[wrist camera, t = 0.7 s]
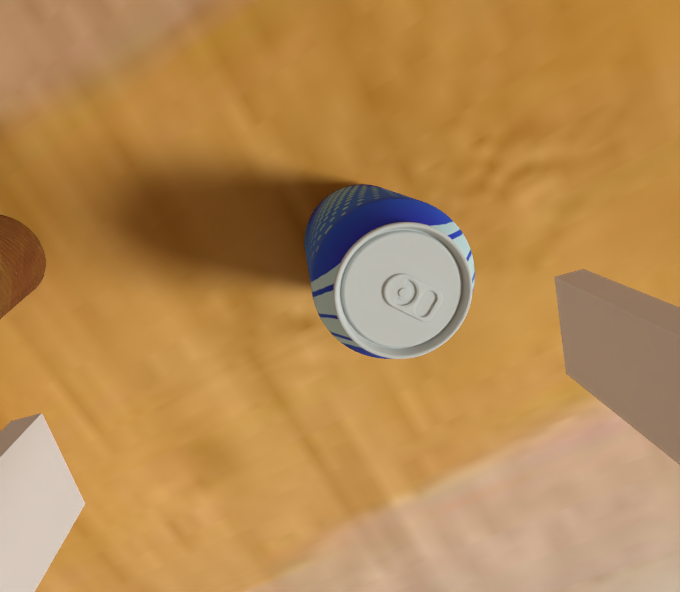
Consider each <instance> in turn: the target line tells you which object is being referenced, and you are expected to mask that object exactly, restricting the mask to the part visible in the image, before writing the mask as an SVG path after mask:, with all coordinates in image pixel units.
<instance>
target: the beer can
mask: <svg viewBox="0 0 680 592" xmlns="http://www.w3.org/2000/svg"><path fill="white" fill-rule="evenodd" d="M305 252H306V258H307V264H308V270H309V276H310V283H311V289H312V295H313V300H314V303H315V307H316V309H317V312H318V314H319V316H320V318H321V320H322V321H323V323H324V324H325V326H326V328H327V329H328V330H329V331H330V332H331V334H332V335H333V336H334V337H335V338H336V339H338V340H339V341H340V342H341V343H342V344H344V345H345V346H347V347H348V348H350V349H352V350H354V351H356V352H359V353H361V354H364V355H367V356H371V357H376V358H384V359H406V358H413V357H417V356H421V355H424V354H426V353H429V352H431V351H433V350H435V349H436V348H438V347H440V346H441V345H442V344H444V343H445V342H446V341H447V340H449V339H450V338H451V337H452V336H453V335H454V334H455V332H456V331H457V330H458V329H459V327H460V326H461V324H462V323H463V321H464V319H465V317H466V315H467V312H468V310H469V307H470V303H471V299H472V293H473V288H474V277H475V271H474V262H473V256H472V253H471V249H470V247H469V244H468V242H467V240H466V238H465V236H464V234H463V233H462V231H461V230H460V228H459V227H458V226H457V225H456V224H455V223H454V222H453V221H452V220H451V219H450V218H449V217H448V216H447V215H446V214H444V213H443V212H442V211H440V210H439V209H437V208H436V207H434V206H432V205H430V204H428V203H425V202H422V201H419V200H416V199H413V198H410V197H407V196H404V195H401V194H398V193H395V192H392V191H389V190H387V189H384V188H381V187H377V186H373V185H364V184H361V185H352V186H347V187H344V188H341V189H339V190H337V191H335V192H333V193H332V194H330V195H329V196H327V197H326V198H325V199H324V200H323V201H322V202H321V203H320V204H319V205H318V206H317V207H316V209H315V210H314V212H313V213H312V215H311V217H310V219H309V222H308V225H307V228H306V233H305Z"/></svg>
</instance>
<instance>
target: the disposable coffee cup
mask: <svg viewBox="0 0 680 592" xmlns="http://www.w3.org/2000/svg"><path fill="white" fill-rule="evenodd" d="M45 267H46V259H45V255H44V250H43V248H42V246H41V244H40V242H39V240H38V239H37V237H36V236H35V235H34V233H33V232H32V231H31V230H30V229H29V228H27V227H26V226H25V225H23V224H22V223H20V222H18V221H16V220H14V219H12V218H9V217H6V216H3V215H0V319H1V318H2V317H3V316H4V315H5V314H6V313H8V312H9V311H10V310H11V309H12V308H13V307H14V306H16V305H17V304H18V303H19V302H20V301H21V300H23V299H24V298H25V297H26V296H27V295H29V294H30V293H31V292H32V291H33V290H35V289H36V287H37V286H38V285H39V284H40V282H41V280H42V279H43V277H44V272H45Z"/></svg>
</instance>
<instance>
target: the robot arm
mask: <svg viewBox="0 0 680 592" xmlns="http://www.w3.org/2000/svg"><path fill="white" fill-rule="evenodd" d="M555 285H556V293H557V302H558V310H559V318H560V327H561V335H562V343H563V352H564V360H565V368H566V374H567V375H569V376H570V377H571V378H572V379H573V380H575V381H576V382H577V383H578V384H580V385H581V386H582V387H583V388H585V389H586V390H587V391H588V392H590V393H591V394H592V395H593V396H595V397H596V398H597V399H598V400H600V401H601V402H602V403H603V404H605V405H606V406H607V407H608V408H610V409H611V410H612V411H613V412H615V413H616V414H617V415H618V416H620V417H621V418H622V419H623V420H625V421H626V422H627V423H628V424H630V425H631V426H632V427H633V428H635V429H636V430H637V431H638V432H640V433H641V434H642V435H643V436H645V437H646V438H647V439H648V440H650V441H651V442H652V443H653V444H655V445H656V446H657V447H658V448H660V449H661V450H662V451H663V452H665V453H666V454H667V455H668V456H669V457H671V458H672V459H673V460H674V461H676V462H677V463H678V464H679V465H680V308H679V307H677V306H674V305H672V304H669V303H667V302H664V301H662V300H659V299H657V298H654V297H652V296H649V295H647V294H644V293H642V292H639V291H637V290H634V289H632V288H629V287H627V286H625V285H622V284H620V283H617V282H615V281H612V280H610V279H607V278H605V277H602V276H600V275H597V274H595V273H592V272H590V271H587V270H585V269H582V270H578V271H575V272H571V273H567V274H563V275H560V276H556V277H555ZM84 505H85V502H84V500H83V498H82V496H81V494H80V492H79V490H78V488H77V486H76V484H75V481H74V479H73V477H72V475H71V473H70V471H69V469H68V467H67V465H66V463H65V460H64V458H63V456H62V454H61V452H60V450H59V448H58V446H57V444H56V442H55V439H54V437H53V435H52V433H51V431H50V429H49V427H48V425H47V423H46V421H45V418H44V416H43V414H42V413H40V414H36V415H33V416H29V417H25V418H21V419H18V420H14V421H11V422H10V423H9V424H8V425H7V426H6V427H5V428H4V429H3V430H2V431H1V432H0V592H35V590H36V588H37V587H38V585H39V583H40V581H41V580H42V578H43V576H44V574H45V573H46V571H47V569H48V568H49V566H50V564H51V562H52V561H53V559H54V557H55V555H56V554H57V552H58V550H59V548H60V547H61V545H62V543H63V542H64V540H65V538H66V536H67V535H68V533H69V531H70V529H71V528H72V526H73V524H74V522H75V521H76V519H77V517H78V516H79V514H80V512H81V510H82V509H83V507H84Z"/></svg>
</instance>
